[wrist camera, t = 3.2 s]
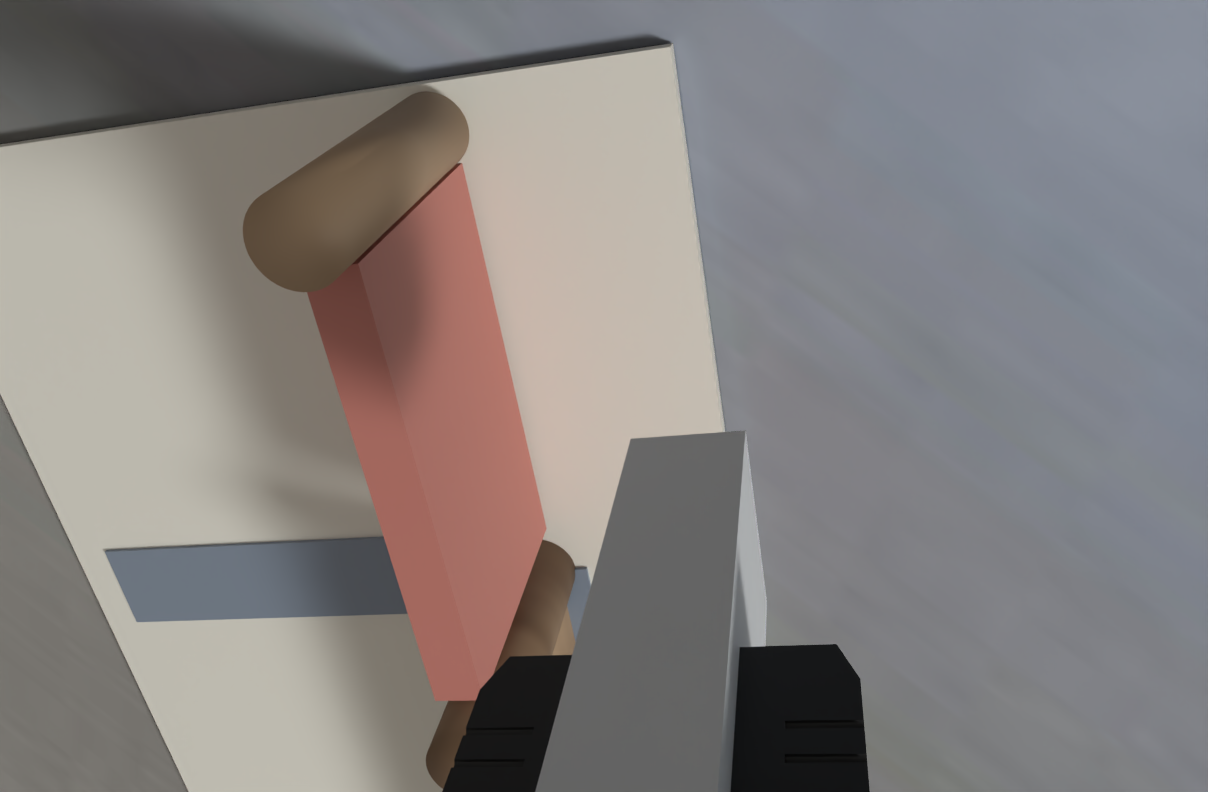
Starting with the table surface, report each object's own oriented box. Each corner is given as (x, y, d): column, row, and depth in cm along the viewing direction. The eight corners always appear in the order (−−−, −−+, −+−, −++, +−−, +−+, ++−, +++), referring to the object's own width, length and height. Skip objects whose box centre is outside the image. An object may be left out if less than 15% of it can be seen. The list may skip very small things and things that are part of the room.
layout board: (-97, 158, 24) (-113, 164, 24) (672, 43, 20) (670, 47, 20) (264, 930, 36) (257, 944, 36) (795, 952, 32) (795, 967, 32)
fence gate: (384, 97, 21) (228, 195, 15) (459, 86, 21) (328, 182, 15) (495, 530, 26) (408, 731, 20) (558, 528, 25) (487, 730, 20)
